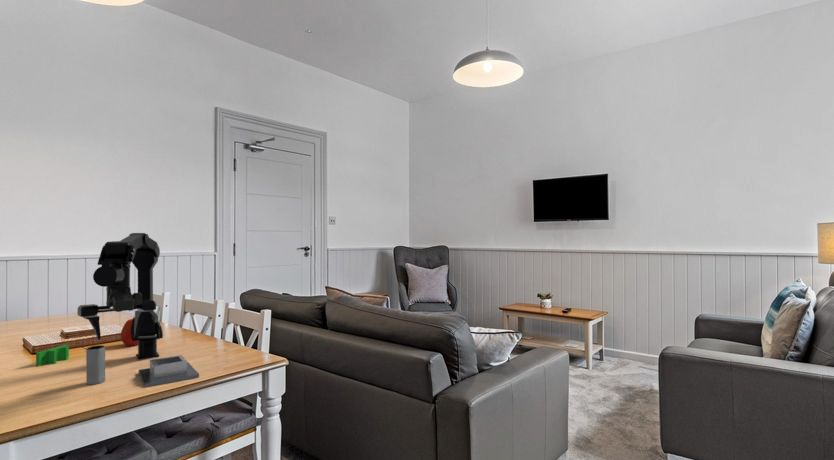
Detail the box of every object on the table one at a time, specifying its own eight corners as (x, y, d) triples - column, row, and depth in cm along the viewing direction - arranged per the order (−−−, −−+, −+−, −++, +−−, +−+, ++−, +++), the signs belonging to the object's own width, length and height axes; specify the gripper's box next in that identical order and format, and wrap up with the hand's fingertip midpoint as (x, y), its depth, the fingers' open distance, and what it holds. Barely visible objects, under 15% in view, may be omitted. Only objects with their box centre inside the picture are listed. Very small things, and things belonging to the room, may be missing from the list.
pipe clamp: (46, 367, 150) (45, 353, 150) (36, 366, 150) (35, 352, 150) (75, 357, 161) (75, 344, 161) (66, 357, 161) (65, 344, 161)
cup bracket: (138, 373, 142) (138, 358, 142) (187, 364, 151) (187, 351, 151) (145, 387, 130) (145, 371, 130) (199, 377, 138) (199, 362, 138)
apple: (149, 344, 179) (149, 316, 179) (127, 348, 172) (127, 320, 172) (138, 341, 183) (138, 314, 183) (116, 345, 176) (116, 318, 176)
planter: (85, 385, 131) (84, 350, 131) (87, 381, 135) (87, 346, 135) (104, 383, 133) (103, 348, 133) (106, 378, 137) (106, 344, 137)
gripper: (85, 287, 122) (84, 346, 122) (162, 283, 136) (161, 336, 135) (77, 285, 130) (76, 340, 129) (150, 281, 143) (150, 331, 143)
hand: (117, 337), depth 134 cm, fingers open, 9 cm apart
